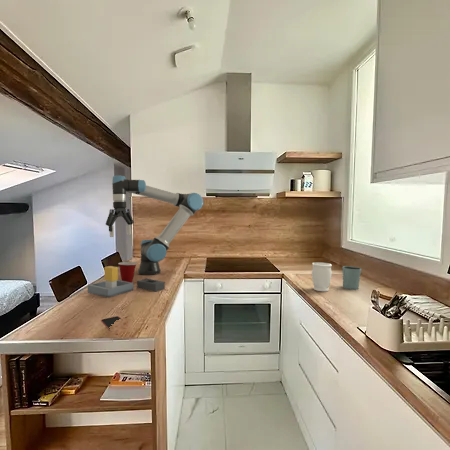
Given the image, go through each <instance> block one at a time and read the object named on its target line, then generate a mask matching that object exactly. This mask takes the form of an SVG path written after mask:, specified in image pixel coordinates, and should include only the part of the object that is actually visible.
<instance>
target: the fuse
mask: <svg viewBox="0 0 450 450" xmlns="http://www.w3.org/2000/svg"><path fill="white" fill-rule="evenodd" d="M118 275H119V266H113V265H108V266H105V267H104V281H106V288H108V289H109V288H113V287H117V280H119V276H118Z"/></svg>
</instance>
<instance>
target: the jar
mask: <svg viewBox="0 0 450 450" xmlns="http://www.w3.org/2000/svg"><path fill="white" fill-rule="evenodd" d="M311 265H312V270H311V278H312V284H313V290H314V291H318V292H329V290H330V288H329V287H330V286H331V285H330V284H331V280H332V266H333V265H332V264H331V263H328V262H321V261H320V262H319V261H317V262H312V264H311Z"/></svg>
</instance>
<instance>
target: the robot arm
mask: <svg viewBox="0 0 450 450" xmlns="http://www.w3.org/2000/svg"><path fill="white" fill-rule="evenodd" d="M111 182H112V183H111V185H112V201H113V202H112V204H113V205H112V207H113V208H112V209H111V208H110V209H109V213H108V216H107V219H106V222H105V226H108V232H109V237H110V238H115V226H114V224H115V222H116V221H117V219H118V218H121V217H122V218H123V219H124V221H125V223H126V235H127V236H130V235H132V232H131V231H132V225H133V224H134V223H135V222H134V219H133V217H132V215H131V211H130V208H127V202H126V201H127V193H128V194H135V195H139V196H142V197H144V198H146V197H147V198H150V199H153V200H157V201H161V202H165V203H168V204H169V203H170V204H172V205H173V206H174V207H177V208H179V209H178V210H177V211H176V213H175V214H174V215H173V216H172V218H171V219H170V220H169V221H168V223H167V225H166V226H165V228H163V230H161V232H160V234H159V235H158V236H155V237H154V238H153V239H143V240H141V241H140V264H139V267H138V270H137V272H138V273H137V274H138V275H142V276H154V275H159V274H161V272H162V271H161V267H160V263H159V262H161V261H163V260H164V259H165V258H166V257H167V251H168V250H169V249H170V244H171V242H172V241H173V239H174V238H175V237H176V236H177V234H178V233H179V231H180V230H181V229H182V227H183V226H184V224H185V223H186V222H187V221H188V219H189V218H190V217H192V216H194V215H195V214H196V212H197V211H199V210H201V208H203V207H204V206H203V205H204V199H203V196H201V194H200V193H197V192H190V193H179V192H171V191H168V190H164V189H160V188H157V187H153V186H149V185H147V184H146V181H145V180H144V179H127V178H126V176H125V175H113V176H112V181H111Z"/></svg>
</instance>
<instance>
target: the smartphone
mask: <svg viewBox="0 0 450 450" xmlns="http://www.w3.org/2000/svg"><path fill="white" fill-rule="evenodd" d="M119 319H122V318H121V317H120V316H111V317H108V318H107V317H106V318H104V319H100V322H101V323H102V324H104V326H105V327H106V326H107V327H108V328H109V327H110V326H112V325H111V324H114V322H115V321H116V320H119ZM107 327H106V328H107ZM108 328H107V329H108ZM109 329H110V328H109ZM109 329H108V330H109Z"/></svg>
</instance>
